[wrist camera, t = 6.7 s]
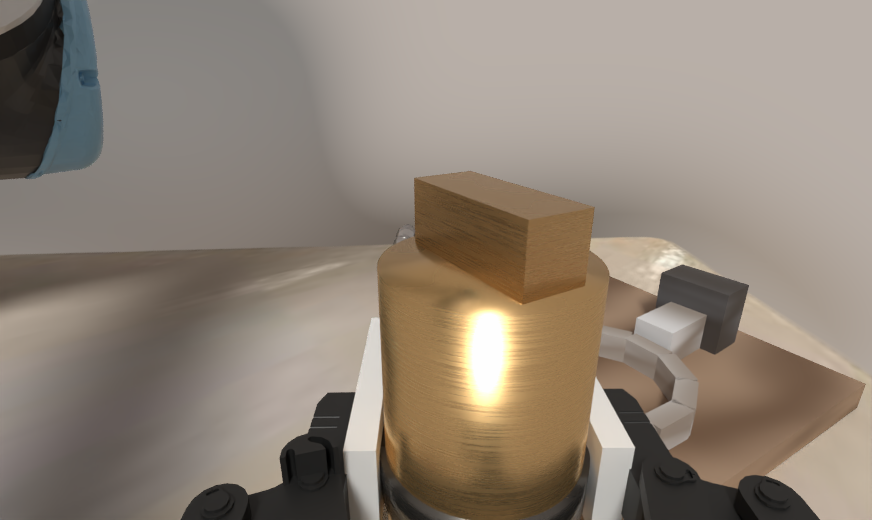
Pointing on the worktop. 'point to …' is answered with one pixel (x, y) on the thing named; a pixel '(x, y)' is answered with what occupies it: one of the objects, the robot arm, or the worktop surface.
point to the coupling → (489, 353)
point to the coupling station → (715, 377)
